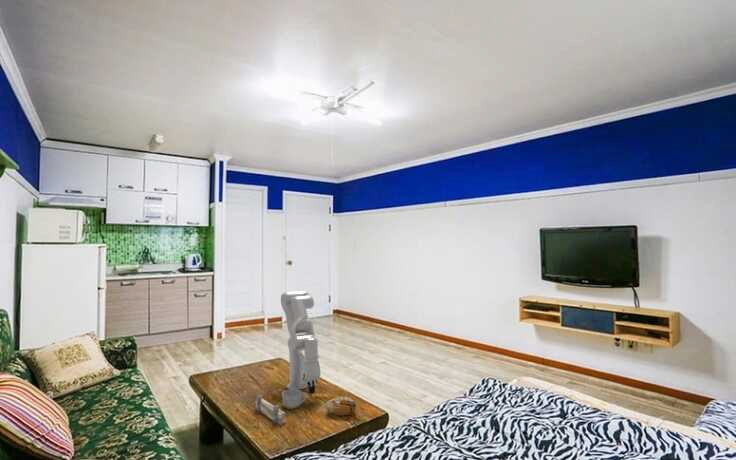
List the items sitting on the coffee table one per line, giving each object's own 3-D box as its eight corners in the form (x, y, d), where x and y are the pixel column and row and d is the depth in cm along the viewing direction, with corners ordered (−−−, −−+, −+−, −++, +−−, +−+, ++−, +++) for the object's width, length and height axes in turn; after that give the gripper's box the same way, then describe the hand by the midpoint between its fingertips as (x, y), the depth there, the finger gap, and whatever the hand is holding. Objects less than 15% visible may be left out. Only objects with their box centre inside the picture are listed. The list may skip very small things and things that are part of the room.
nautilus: (368, 419, 189) (344, 430, 180) (343, 402, 206) (320, 412, 196) (368, 403, 189) (343, 414, 179) (343, 388, 205) (320, 397, 196)
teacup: (278, 409, 200) (278, 394, 200) (287, 401, 210) (287, 387, 211) (302, 412, 197) (302, 396, 197) (310, 403, 207) (310, 389, 207)
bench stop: (260, 407, 204) (260, 392, 204) (285, 423, 185) (285, 406, 185) (253, 409, 201) (253, 394, 201) (277, 426, 182) (277, 409, 182)
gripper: (318, 355, 220) (318, 387, 218) (296, 361, 209) (297, 394, 208) (325, 358, 214) (326, 390, 213) (303, 363, 204) (304, 398, 203)
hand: (311, 392), depth 210 cm, fingers closed
